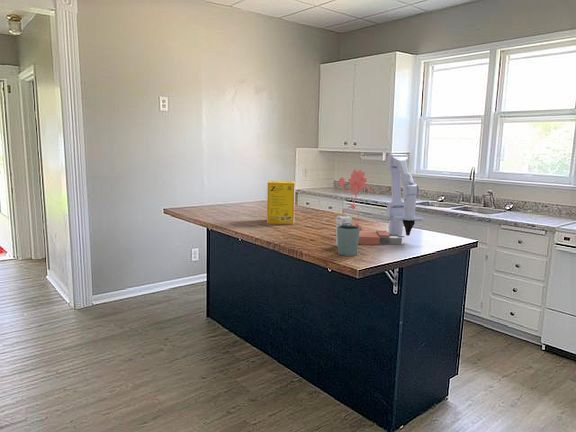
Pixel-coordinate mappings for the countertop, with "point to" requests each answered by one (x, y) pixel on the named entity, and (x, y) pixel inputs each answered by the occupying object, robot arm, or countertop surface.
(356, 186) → the pink flower bunch
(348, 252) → the green tapered cup
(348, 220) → the syrup box
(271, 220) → the packaging box
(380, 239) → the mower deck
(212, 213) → the countertop surface
